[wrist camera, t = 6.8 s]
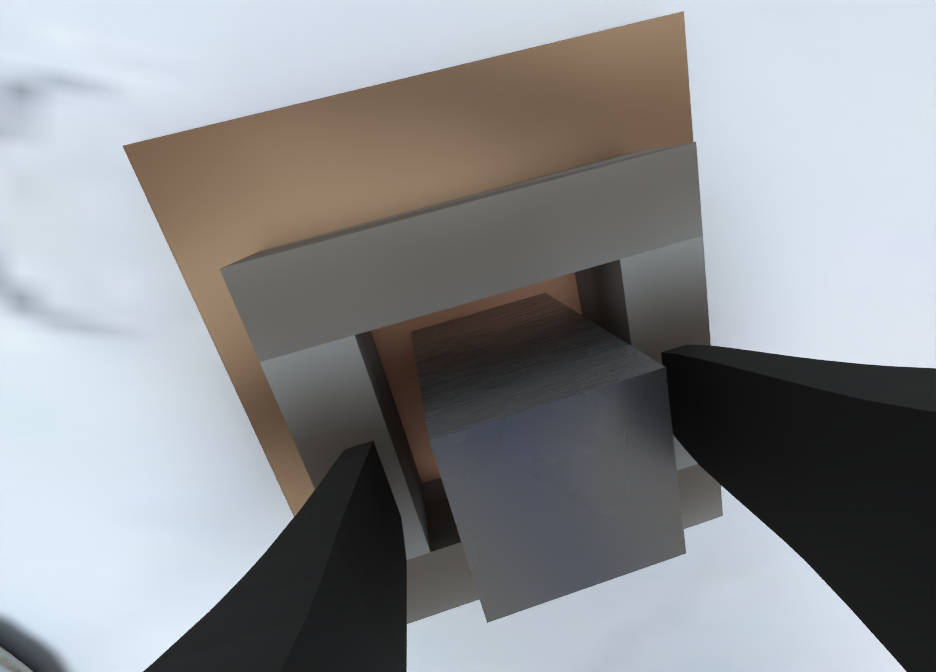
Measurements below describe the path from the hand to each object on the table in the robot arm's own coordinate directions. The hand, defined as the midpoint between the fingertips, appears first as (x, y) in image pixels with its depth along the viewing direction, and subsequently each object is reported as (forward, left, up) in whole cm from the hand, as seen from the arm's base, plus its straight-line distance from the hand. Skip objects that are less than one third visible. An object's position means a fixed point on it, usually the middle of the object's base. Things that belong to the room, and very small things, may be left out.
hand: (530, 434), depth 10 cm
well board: (0, 0, -5) cm, 5 cm away
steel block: (0, 0, -4) cm, 4 cm away
